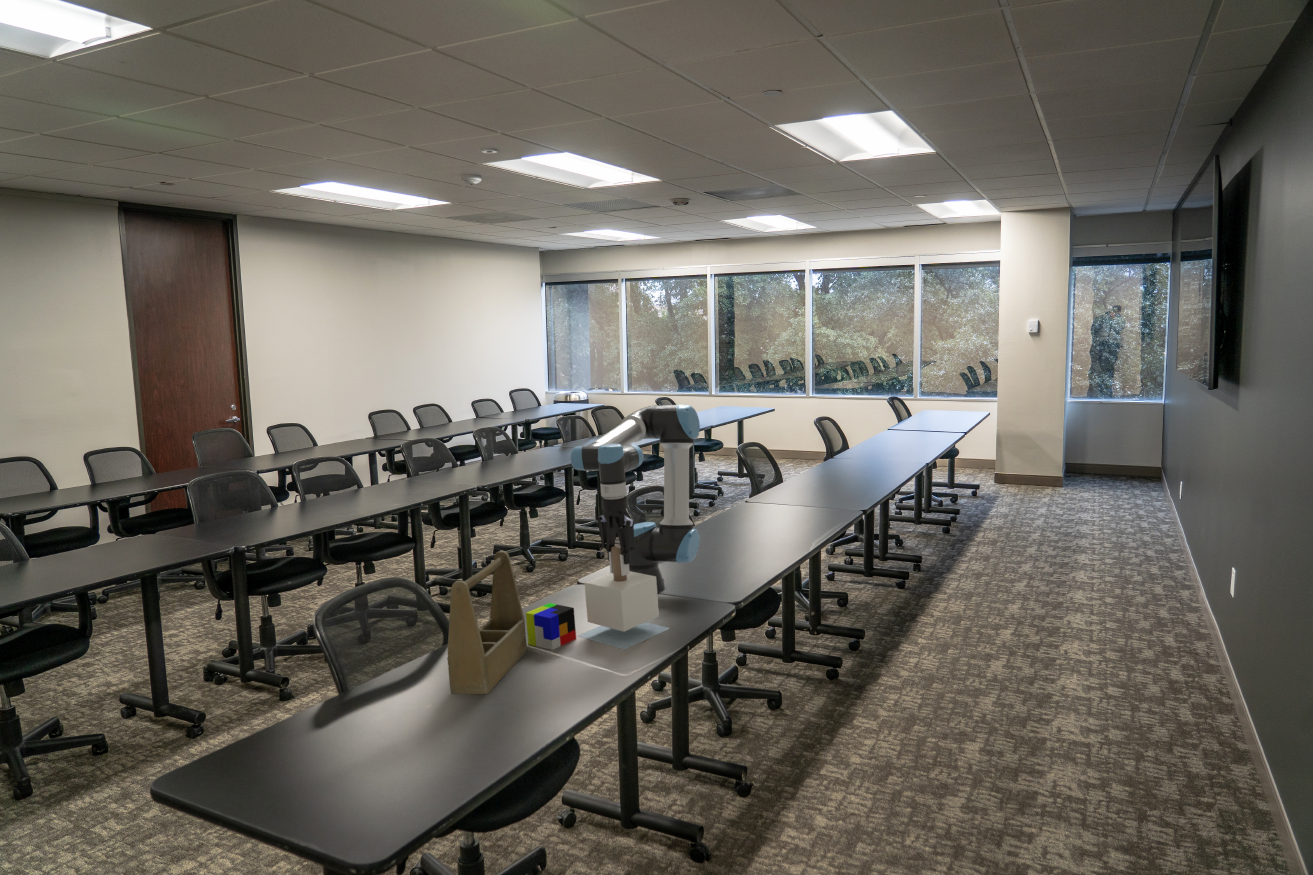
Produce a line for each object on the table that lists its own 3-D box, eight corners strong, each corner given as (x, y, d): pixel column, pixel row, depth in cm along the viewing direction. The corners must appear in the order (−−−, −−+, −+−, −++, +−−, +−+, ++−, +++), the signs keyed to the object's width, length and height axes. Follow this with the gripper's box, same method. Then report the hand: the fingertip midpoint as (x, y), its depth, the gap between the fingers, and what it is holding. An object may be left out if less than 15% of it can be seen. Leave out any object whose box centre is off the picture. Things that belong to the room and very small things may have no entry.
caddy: (488, 695, 212) (477, 581, 209) (449, 693, 214) (438, 581, 211) (528, 651, 241) (519, 550, 237) (493, 651, 243) (484, 551, 239)
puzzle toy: (552, 651, 240) (550, 617, 238) (528, 645, 246) (525, 612, 244) (576, 640, 247) (573, 607, 246) (552, 634, 253) (549, 602, 252)
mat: (622, 617, 264) (622, 616, 264) (670, 629, 251) (670, 628, 251) (576, 637, 250) (576, 635, 250) (624, 650, 236) (624, 649, 236)
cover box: (622, 607, 261) (617, 538, 258) (658, 615, 251) (653, 544, 248) (587, 621, 250) (581, 549, 247) (624, 631, 240) (618, 556, 237)
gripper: (584, 496, 248) (591, 572, 251) (626, 501, 237) (632, 580, 240) (602, 491, 254) (608, 566, 257) (643, 496, 242) (649, 574, 245)
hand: (619, 573), depth 248 cm, fingers closed on cover box, 4 cm apart
